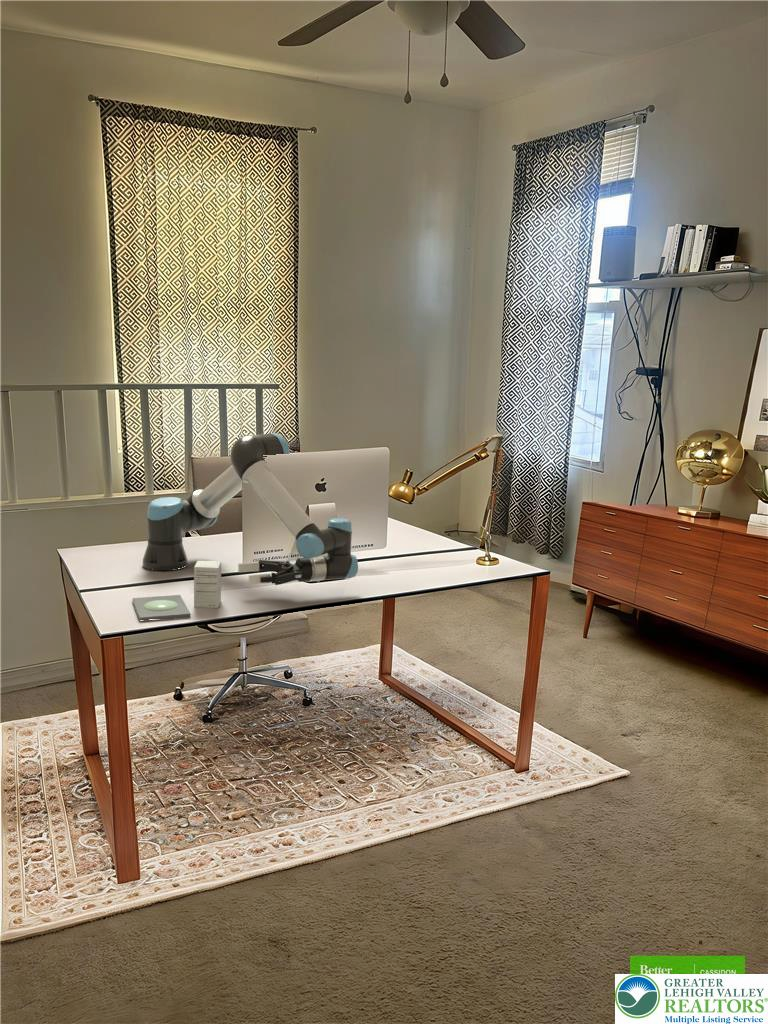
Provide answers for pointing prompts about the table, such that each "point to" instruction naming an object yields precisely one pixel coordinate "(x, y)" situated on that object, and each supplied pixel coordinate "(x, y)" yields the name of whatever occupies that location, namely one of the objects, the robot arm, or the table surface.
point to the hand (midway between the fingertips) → (243, 573)
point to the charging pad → (161, 607)
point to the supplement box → (207, 584)
